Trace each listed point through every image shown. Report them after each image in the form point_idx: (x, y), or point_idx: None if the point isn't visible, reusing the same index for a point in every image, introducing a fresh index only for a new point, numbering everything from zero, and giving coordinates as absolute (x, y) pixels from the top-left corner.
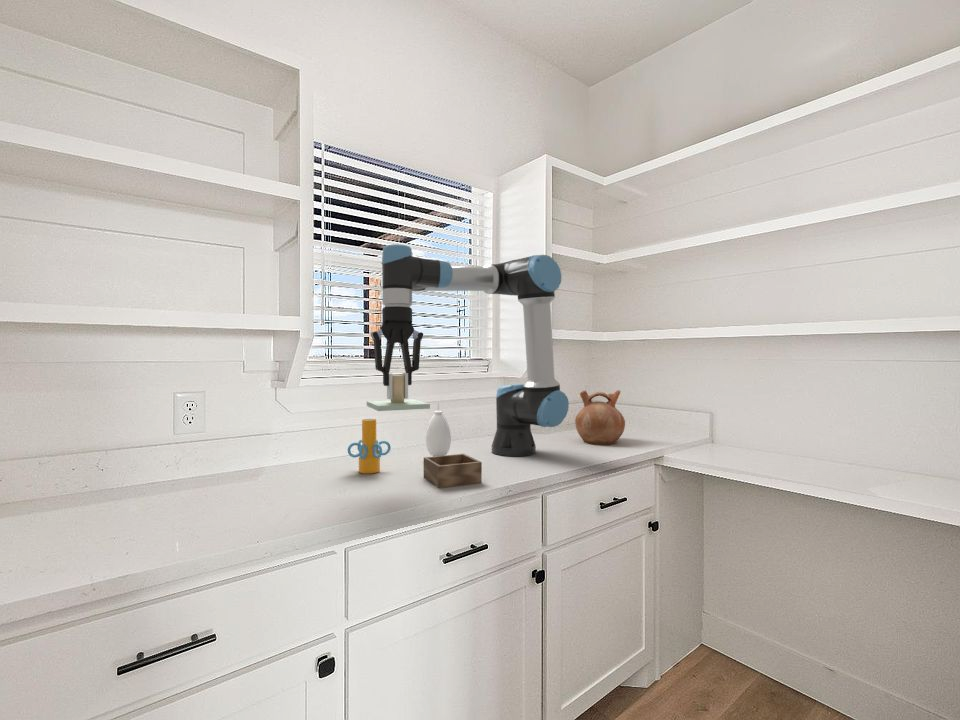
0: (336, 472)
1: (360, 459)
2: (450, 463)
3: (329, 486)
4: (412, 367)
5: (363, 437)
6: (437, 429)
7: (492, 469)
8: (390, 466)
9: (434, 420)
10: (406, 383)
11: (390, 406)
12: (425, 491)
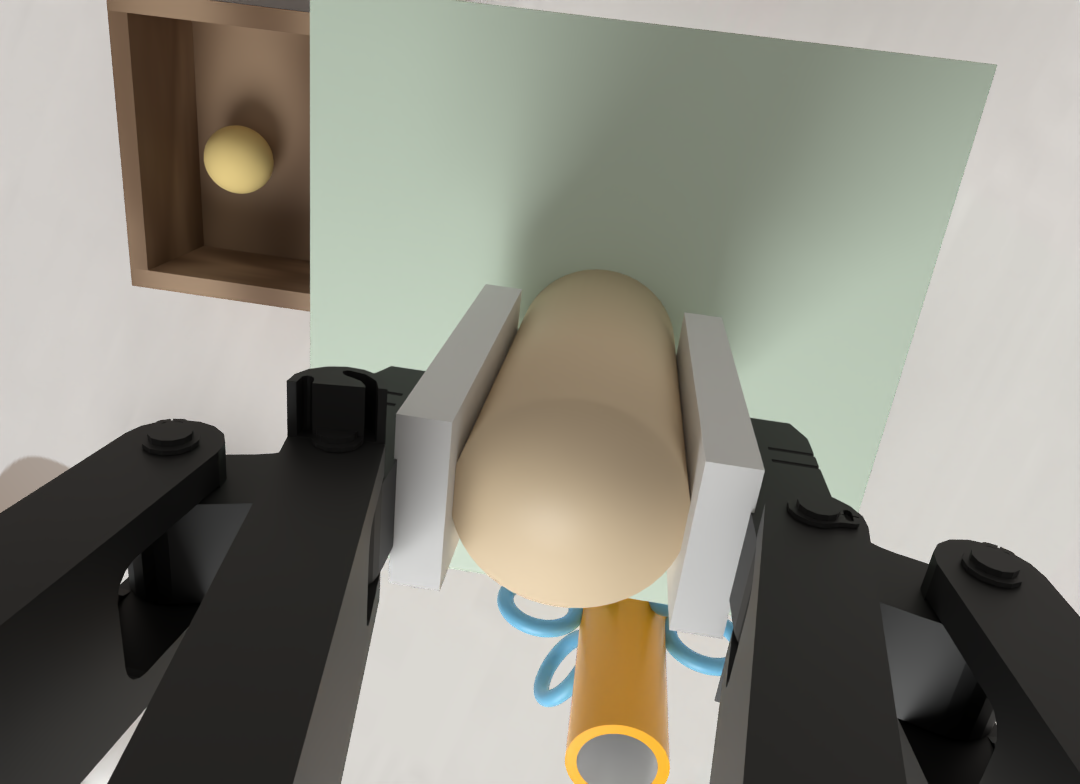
0: None
1: None
2: (248, 270)
3: (922, 390)
4: (247, 495)
5: (664, 668)
6: None
7: (23, 240)
8: (491, 582)
9: (118, 740)
10: (467, 351)
11: (830, 47)
12: (532, 5)
